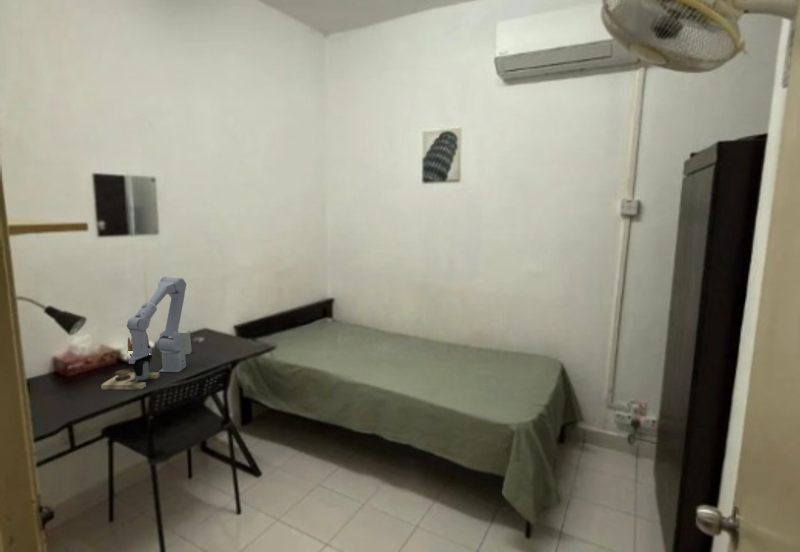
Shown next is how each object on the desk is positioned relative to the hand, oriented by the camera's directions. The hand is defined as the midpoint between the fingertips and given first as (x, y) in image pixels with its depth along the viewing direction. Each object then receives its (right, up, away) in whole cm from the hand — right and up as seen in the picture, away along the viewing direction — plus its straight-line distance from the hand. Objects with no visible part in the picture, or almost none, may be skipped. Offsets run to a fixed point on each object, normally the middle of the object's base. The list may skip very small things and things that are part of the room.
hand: (142, 373), depth 189 cm
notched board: (-5, -4, +1) cm, 7 cm away
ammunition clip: (-20, +1, +32) cm, 38 cm away
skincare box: (-1, +2, +38) cm, 38 cm away
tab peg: (0, -2, 0) cm, 2 cm away
